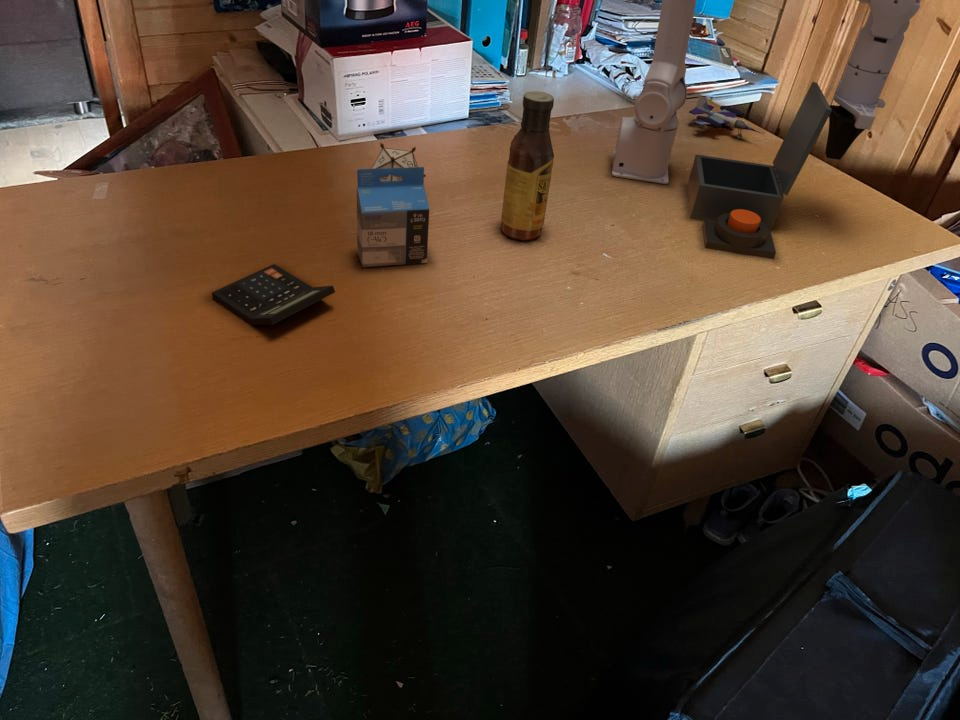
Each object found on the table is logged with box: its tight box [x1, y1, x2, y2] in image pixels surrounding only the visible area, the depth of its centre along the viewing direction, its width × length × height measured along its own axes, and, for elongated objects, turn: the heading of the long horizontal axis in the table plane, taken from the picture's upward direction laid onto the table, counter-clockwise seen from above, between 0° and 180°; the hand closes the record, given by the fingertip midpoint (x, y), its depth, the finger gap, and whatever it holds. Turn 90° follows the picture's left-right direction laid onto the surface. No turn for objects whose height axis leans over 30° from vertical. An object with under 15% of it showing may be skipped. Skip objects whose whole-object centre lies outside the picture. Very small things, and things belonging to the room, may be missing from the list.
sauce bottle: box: [500, 90, 555, 241], centre depth 104 cm, size 6×6×20 cm
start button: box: [727, 209, 761, 234], centre depth 111 cm, size 4×4×2 cm
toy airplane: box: [688, 95, 766, 140], centre depth 146 cm, size 13×14×4 cm
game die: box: [370, 142, 427, 181], centre depth 113 cm, size 9×8×10 cm
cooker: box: [686, 153, 785, 232], centre depth 120 cm, size 13×12×6 cm
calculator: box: [211, 263, 336, 326], centre depth 91 cm, size 9×12×3 cm
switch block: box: [701, 213, 777, 260], centre depth 112 cm, size 10×7×3 cm
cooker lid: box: [772, 81, 832, 196], centre depth 113 cm, size 13×12×1 cm
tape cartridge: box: [356, 166, 430, 268], centre depth 98 cm, size 9×4×12 cm, turn 105°
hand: (832, 157), depth 115 cm, fingers closed
